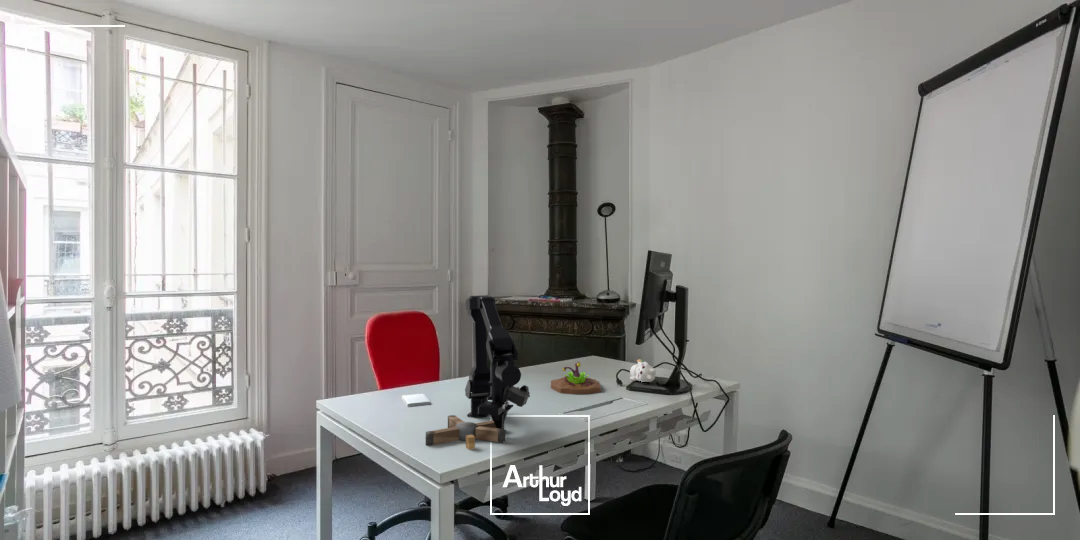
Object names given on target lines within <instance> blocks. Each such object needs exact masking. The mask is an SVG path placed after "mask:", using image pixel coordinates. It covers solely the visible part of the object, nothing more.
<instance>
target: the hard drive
mask: <svg viewBox="0 0 1080 540" xmlns="http://www.w3.org/2000/svg"><path fill="white" fill-rule="evenodd" d="M401 399H402V401H403V403H404V404H405V406H406V407H408V408H409V407H418V406H428V405H430V406H431V405H432V402H431V401H430V399H429V398H428V397H427V396H426V395H425V393H413V394H405V395H404V394H403V395H401Z"/></svg>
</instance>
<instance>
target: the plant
mask: <svg viewBox="0 0 1080 540" xmlns="http://www.w3.org/2000/svg"><path fill="white" fill-rule="evenodd" d="M581 366H582V364H581V362H580V361H577V362H575V363H574V367H575V370H574V369H573V368H572V367H570V366H565V367H563V368H562V371H563V372H566V371H567V369H569V370H571V371H568V372H566V373H567V374H564V376H563V377H561V378H557V379H556V378H555V379H552V380H550V389H552V390H553V391H556V392H557V393H559V394H563V395H565V394H566V395H591V394H595V393H596V394H597V393H601V392H602V387H601V383H600V381H599V380H597V379H594V378H591V377H589V376H590V375H589V374H588V375H586V374H587V373H586V372H585V371H582V372H581V373H580V371H579V368H580V367H581Z"/></svg>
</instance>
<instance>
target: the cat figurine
mask: <svg viewBox="0 0 1080 540" xmlns="http://www.w3.org/2000/svg"><path fill="white" fill-rule="evenodd" d="M636 362H637V364H634V365H632V366H631V368H630V370H629V373H630V376H629V380H630V381H631V382H636V381H639V382H640V381H641V383H642V382H650V383H652V382H653V381H654V380H655V378H656V376H657V375H656V371H657V369H656V368H654V367H653V366H652V365H650V364H649V363H648V362H647V361H645V360H644V359H640V358H639V359H636Z"/></svg>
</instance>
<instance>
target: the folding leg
mask: <svg viewBox="0 0 1080 540" xmlns="http://www.w3.org/2000/svg"><path fill="white" fill-rule="evenodd" d="M506 430H507V429H505V428H504V429H498V428H489V427H481V426H479V427H477V428H476V429H475V440H481V441H488V442H495V443H496V442H497V443H505V442H507V441H506V440H507V438H506V437H507V435H506Z"/></svg>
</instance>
